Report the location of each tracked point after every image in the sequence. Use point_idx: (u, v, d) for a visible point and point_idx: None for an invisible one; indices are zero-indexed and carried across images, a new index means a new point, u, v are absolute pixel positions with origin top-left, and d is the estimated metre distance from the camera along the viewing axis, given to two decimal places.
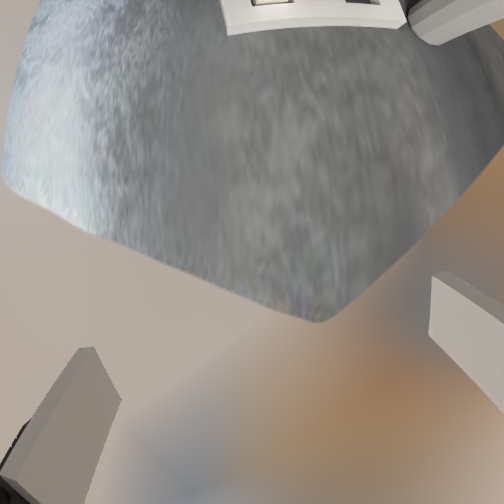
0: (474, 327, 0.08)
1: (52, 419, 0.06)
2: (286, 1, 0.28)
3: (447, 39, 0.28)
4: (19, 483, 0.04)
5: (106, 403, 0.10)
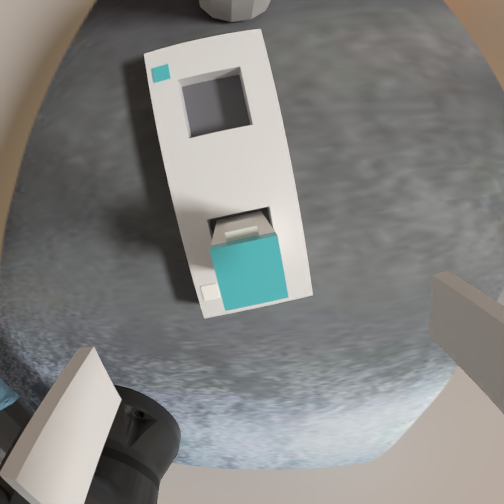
0: (474, 327, 0.08)
1: (52, 419, 0.06)
2: None
3: None
4: (19, 483, 0.04)
5: (106, 403, 0.10)
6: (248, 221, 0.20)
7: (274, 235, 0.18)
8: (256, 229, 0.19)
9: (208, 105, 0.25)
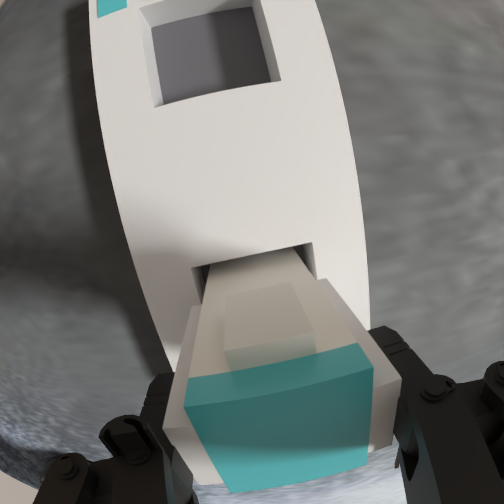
0: None
1: None
2: None
3: None
4: None
5: None
6: (282, 299, 0.08)
7: (363, 364, 0.06)
8: (311, 340, 0.07)
9: (196, 54, 0.12)
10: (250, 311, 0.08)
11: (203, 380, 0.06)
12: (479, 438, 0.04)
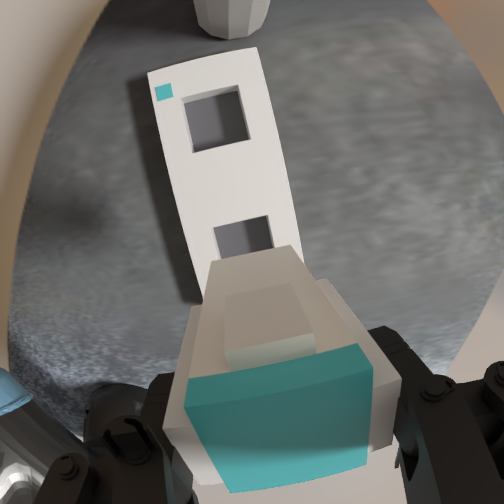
0: None
1: None
2: None
3: None
4: None
5: None
6: (282, 299, 0.08)
7: (363, 365, 0.06)
8: (311, 341, 0.07)
9: (209, 120, 0.27)
10: (250, 311, 0.08)
11: (203, 380, 0.06)
12: (479, 438, 0.04)
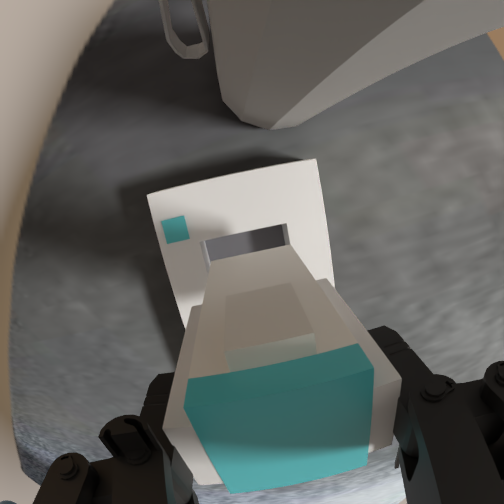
0: None
1: None
2: None
3: None
4: None
5: None
6: (282, 299, 0.08)
7: (364, 365, 0.06)
8: (311, 341, 0.07)
9: None
10: (250, 311, 0.08)
11: (203, 381, 0.06)
12: (479, 438, 0.04)
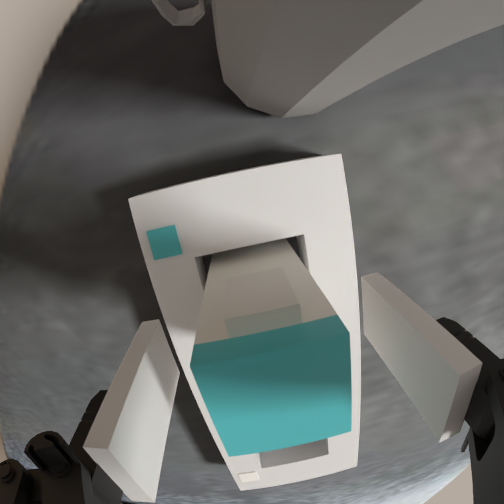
0: (393, 328, 0.09)
1: (134, 385, 0.08)
2: None
3: None
4: (111, 451, 0.05)
5: (170, 374, 0.11)
6: (274, 280, 0.10)
7: (341, 331, 0.07)
8: (297, 311, 0.08)
9: None
10: (247, 290, 0.09)
11: (206, 345, 0.08)
12: None
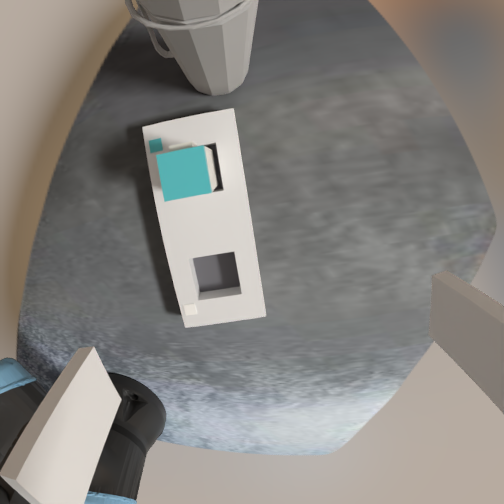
0: (474, 327, 0.08)
1: (52, 419, 0.06)
2: (211, 151, 0.32)
3: None
4: (19, 483, 0.04)
5: (106, 403, 0.10)
6: None
7: None
8: (191, 144, 0.25)
9: None
10: None
11: None
12: None
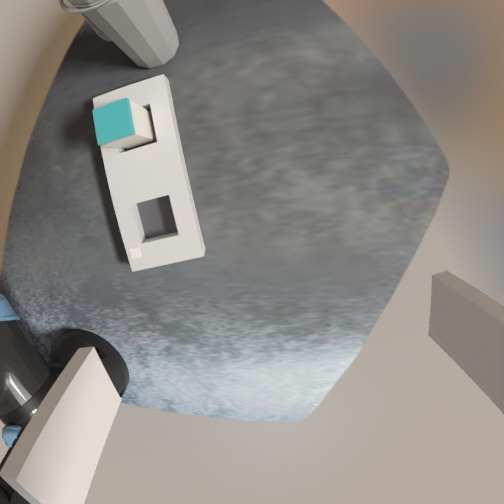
0: (474, 327, 0.08)
1: (52, 419, 0.06)
2: (147, 111, 0.34)
3: (173, 27, 0.30)
4: (19, 483, 0.04)
5: (106, 403, 0.10)
6: None
7: (125, 98, 0.26)
8: (119, 99, 0.27)
9: None
10: None
11: None
12: None
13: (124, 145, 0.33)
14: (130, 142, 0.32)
